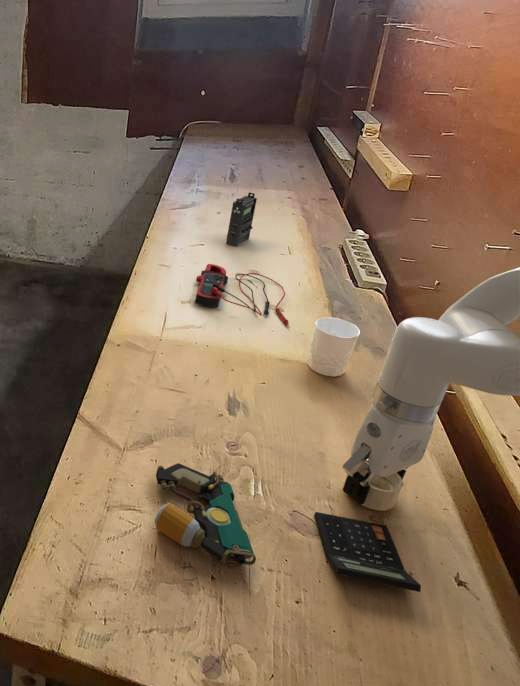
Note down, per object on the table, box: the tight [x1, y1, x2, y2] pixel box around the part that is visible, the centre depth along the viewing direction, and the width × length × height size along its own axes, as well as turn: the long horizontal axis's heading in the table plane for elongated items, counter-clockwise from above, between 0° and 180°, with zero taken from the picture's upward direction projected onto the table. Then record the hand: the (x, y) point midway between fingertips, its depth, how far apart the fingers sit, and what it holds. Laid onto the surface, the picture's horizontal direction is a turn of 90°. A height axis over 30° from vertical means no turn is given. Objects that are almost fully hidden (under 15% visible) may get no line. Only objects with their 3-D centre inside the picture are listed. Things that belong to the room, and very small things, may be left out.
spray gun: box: [154, 462, 257, 566], centre depth 85 cm, size 4×17×15 cm
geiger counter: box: [225, 191, 258, 247], centre depth 175 cm, size 10×4×15 cm, turn 132°
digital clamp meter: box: [194, 263, 291, 328], centre depth 146 cm, size 23×4×25 cm
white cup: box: [307, 316, 361, 377], centre depth 116 cm, size 8×8×10 cm
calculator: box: [313, 511, 422, 593], centre depth 78 cm, size 9×12×3 cm
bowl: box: [343, 459, 404, 512], centre depth 88 cm, size 7×7×4 cm
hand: (370, 489), depth 88 cm, fingers closed on bowl, 6 cm apart
